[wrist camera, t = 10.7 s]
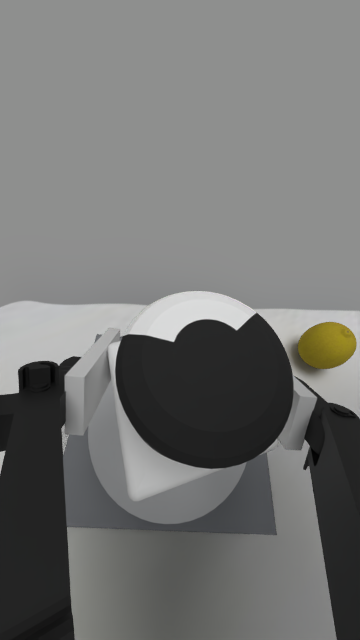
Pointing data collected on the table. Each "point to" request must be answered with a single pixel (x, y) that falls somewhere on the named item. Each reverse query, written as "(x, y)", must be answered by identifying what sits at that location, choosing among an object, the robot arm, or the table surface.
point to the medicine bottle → (196, 390)
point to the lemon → (327, 345)
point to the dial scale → (166, 507)
